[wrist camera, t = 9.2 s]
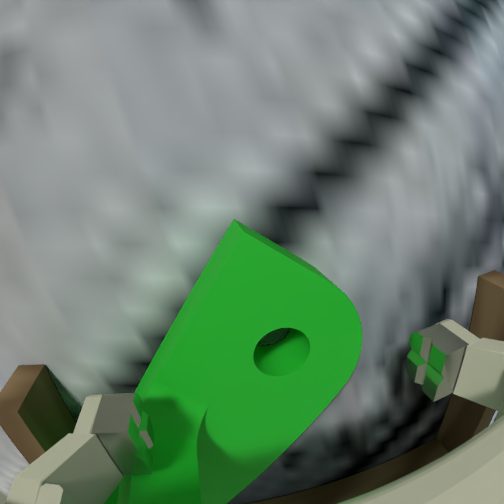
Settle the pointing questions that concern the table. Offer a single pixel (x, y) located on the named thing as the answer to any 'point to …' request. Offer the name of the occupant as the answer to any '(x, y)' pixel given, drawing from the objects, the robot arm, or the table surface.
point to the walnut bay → (313, 500)
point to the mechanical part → (241, 372)
